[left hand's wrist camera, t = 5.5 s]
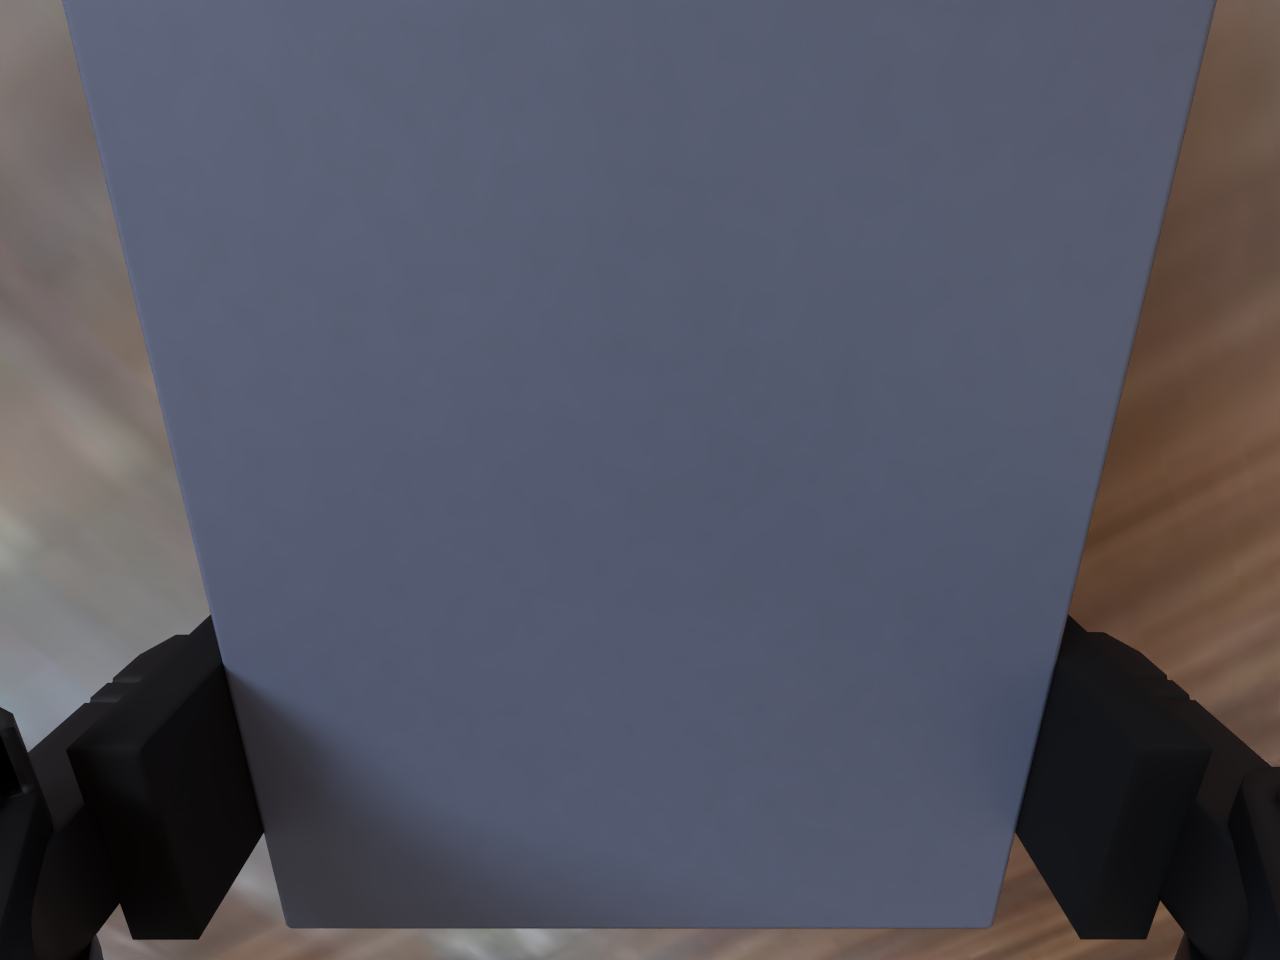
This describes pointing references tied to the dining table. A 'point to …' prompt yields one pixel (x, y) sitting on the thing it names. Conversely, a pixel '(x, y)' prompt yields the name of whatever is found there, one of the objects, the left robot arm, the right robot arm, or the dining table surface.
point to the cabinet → (639, 426)
